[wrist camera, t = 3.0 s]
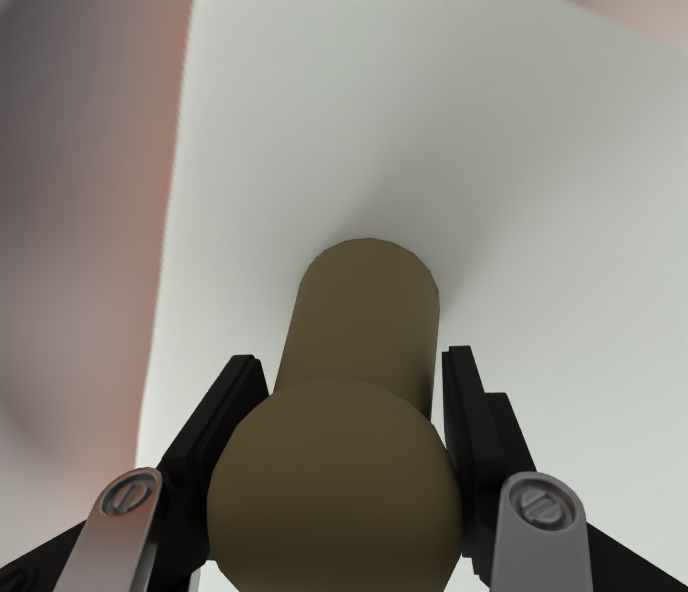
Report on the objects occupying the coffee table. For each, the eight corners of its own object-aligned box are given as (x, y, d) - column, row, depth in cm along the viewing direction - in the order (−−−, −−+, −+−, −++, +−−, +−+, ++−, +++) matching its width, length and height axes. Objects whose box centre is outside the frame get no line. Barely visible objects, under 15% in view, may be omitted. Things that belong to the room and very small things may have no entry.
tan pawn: (387, 208, 15) (364, 397, 5) (467, 326, 16) (572, 651, 6) (269, 287, 17) (82, 535, 7) (350, 386, 18) (294, 701, 8)
